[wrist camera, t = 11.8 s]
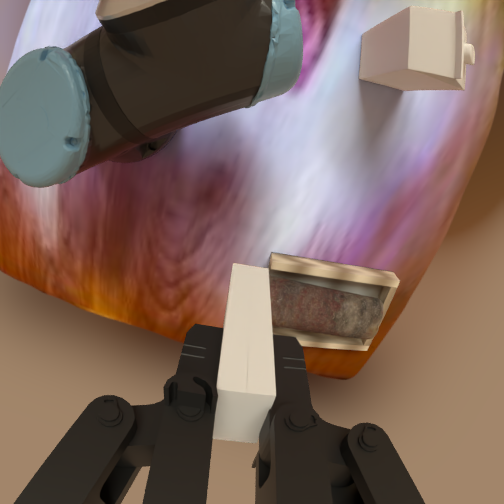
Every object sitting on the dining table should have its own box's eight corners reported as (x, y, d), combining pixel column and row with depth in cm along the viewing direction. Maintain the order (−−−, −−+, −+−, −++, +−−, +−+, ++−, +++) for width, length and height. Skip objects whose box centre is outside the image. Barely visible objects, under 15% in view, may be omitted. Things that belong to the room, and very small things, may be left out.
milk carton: (358, 79, 35) (429, 65, 18) (361, 33, 32) (429, -6, 15) (403, 91, 35) (489, 92, 18) (406, 47, 32) (489, 26, 15)
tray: (254, 328, 53) (253, 340, 50) (271, 252, 46) (272, 261, 44) (362, 340, 54) (366, 350, 52) (393, 272, 48) (399, 281, 45)
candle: (257, 276, 50) (367, 299, 51) (248, 321, 48) (360, 340, 50) (265, 269, 42) (389, 296, 44) (254, 322, 41) (382, 343, 42)
